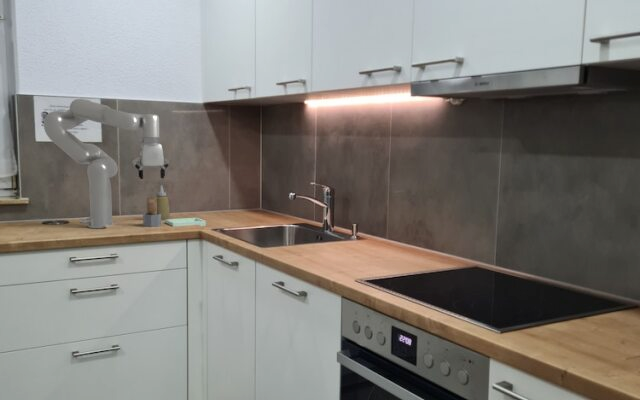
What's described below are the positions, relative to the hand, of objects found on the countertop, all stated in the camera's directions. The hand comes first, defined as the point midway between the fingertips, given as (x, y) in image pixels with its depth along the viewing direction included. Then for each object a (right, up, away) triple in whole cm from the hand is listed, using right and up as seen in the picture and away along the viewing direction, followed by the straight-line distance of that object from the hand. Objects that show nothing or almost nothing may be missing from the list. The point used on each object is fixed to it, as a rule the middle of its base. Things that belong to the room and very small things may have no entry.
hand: (152, 178), depth 269 cm
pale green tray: (+13, -22, +11) cm, 28 cm away
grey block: (-1, -23, +3) cm, 23 cm away
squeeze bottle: (-2, -21, +24) cm, 31 cm away
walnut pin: (-1, -22, +3) cm, 22 cm away
